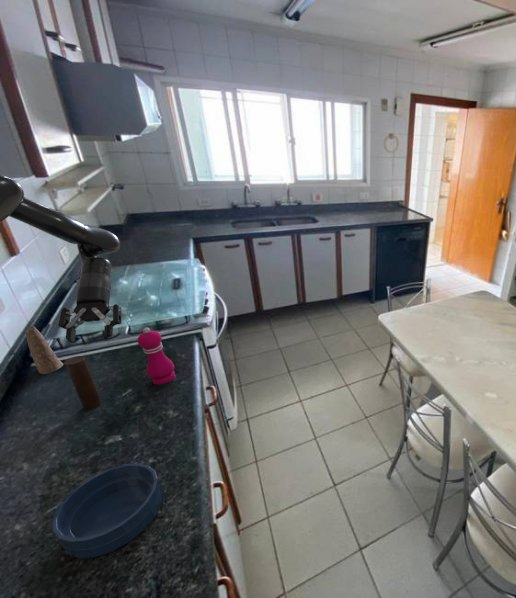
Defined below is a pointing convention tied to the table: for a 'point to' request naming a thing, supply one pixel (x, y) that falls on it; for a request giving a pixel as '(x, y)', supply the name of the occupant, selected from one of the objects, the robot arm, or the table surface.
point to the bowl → (108, 510)
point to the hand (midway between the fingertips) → (89, 339)
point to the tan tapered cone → (42, 352)
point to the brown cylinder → (83, 382)
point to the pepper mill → (156, 357)
